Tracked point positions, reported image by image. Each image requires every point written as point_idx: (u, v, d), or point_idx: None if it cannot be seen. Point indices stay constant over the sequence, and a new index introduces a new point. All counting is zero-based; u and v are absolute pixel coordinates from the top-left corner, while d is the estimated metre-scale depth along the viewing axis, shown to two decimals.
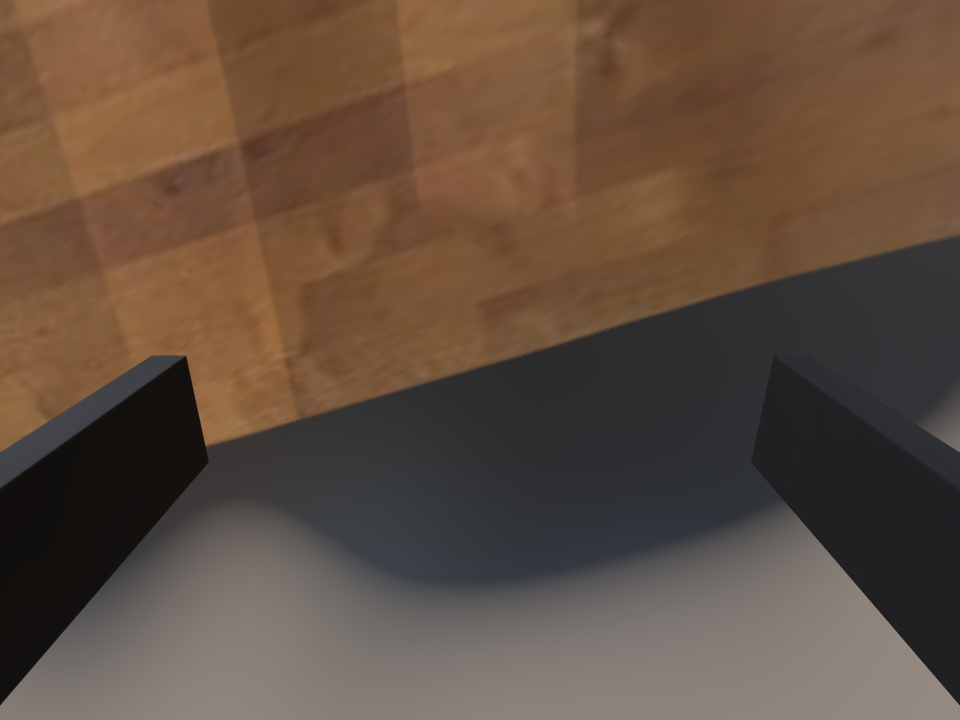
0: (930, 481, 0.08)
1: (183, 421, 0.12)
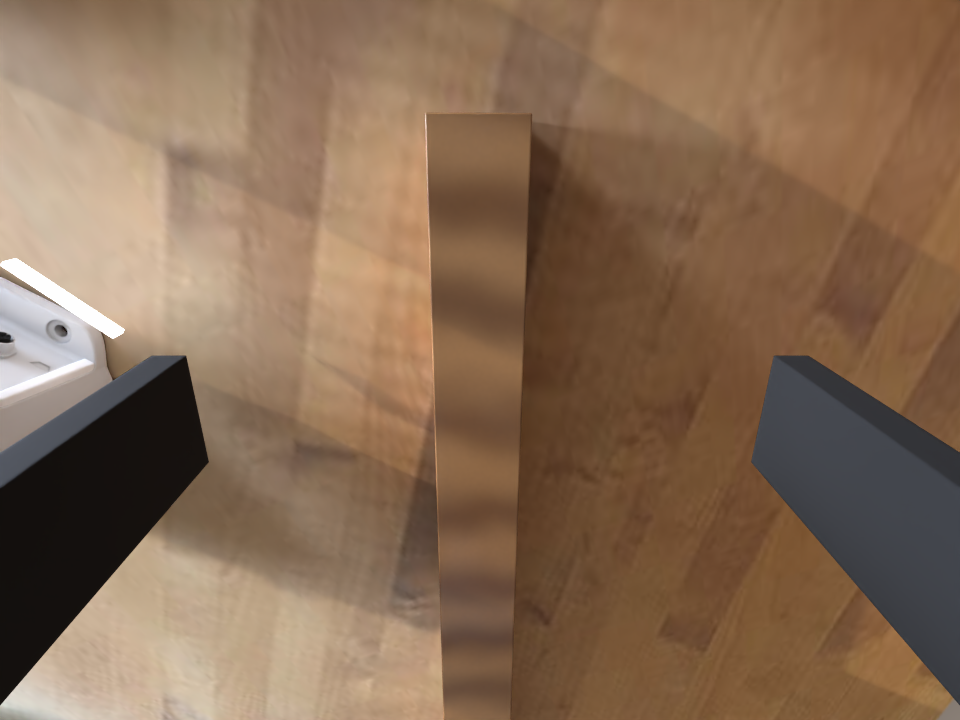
0: (930, 481, 0.08)
1: (183, 421, 0.12)
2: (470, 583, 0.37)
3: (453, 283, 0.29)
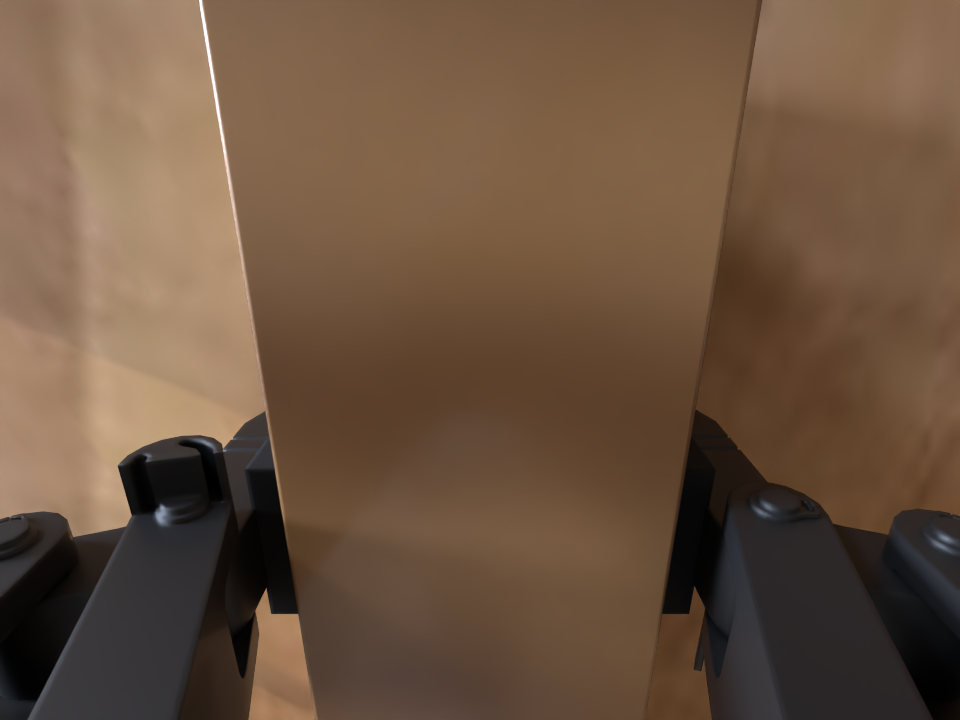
0: None
1: None
2: None
3: (390, 655, 0.08)
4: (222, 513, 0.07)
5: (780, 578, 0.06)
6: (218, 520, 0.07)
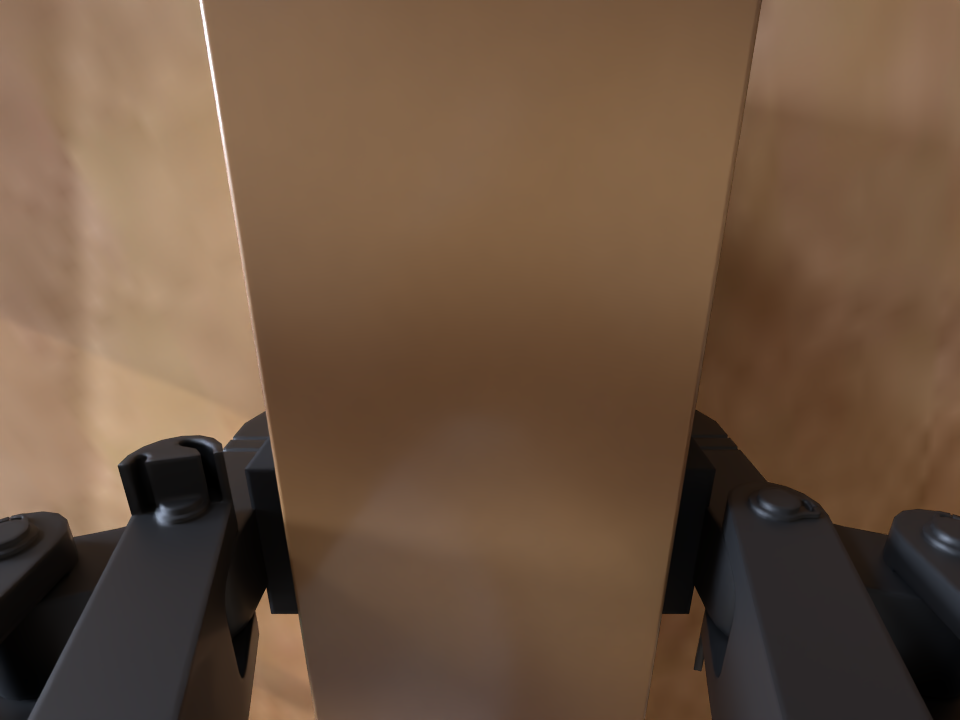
0: None
1: None
2: None
3: (390, 654, 0.08)
4: (222, 513, 0.07)
5: (780, 578, 0.06)
6: (218, 520, 0.07)
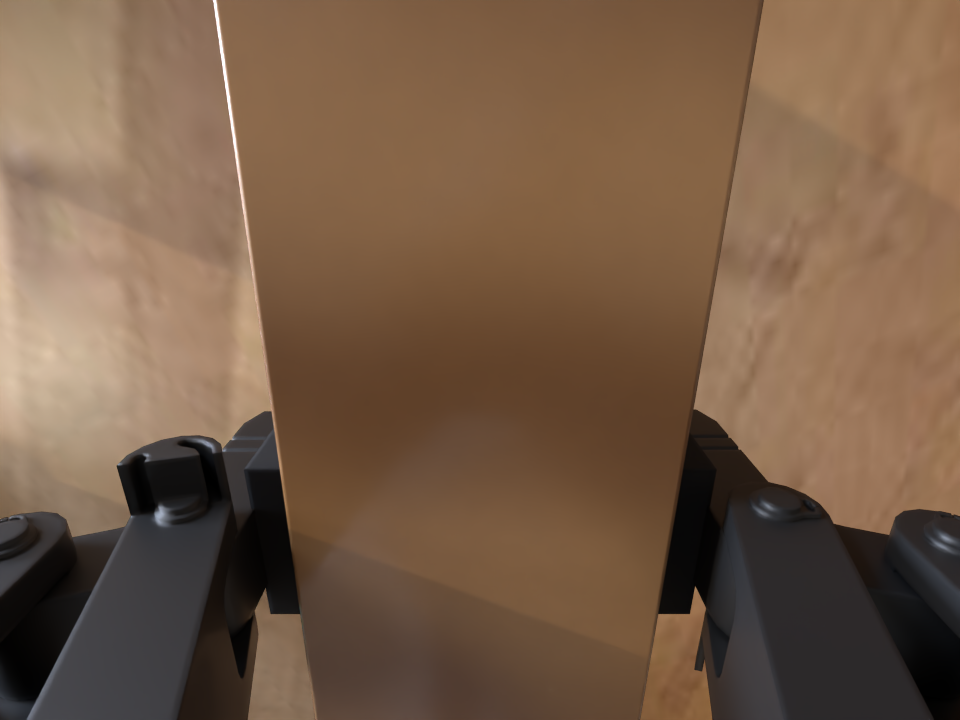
0: None
1: None
2: None
3: (389, 650, 0.08)
4: (221, 513, 0.07)
5: (781, 578, 0.06)
6: (217, 520, 0.07)
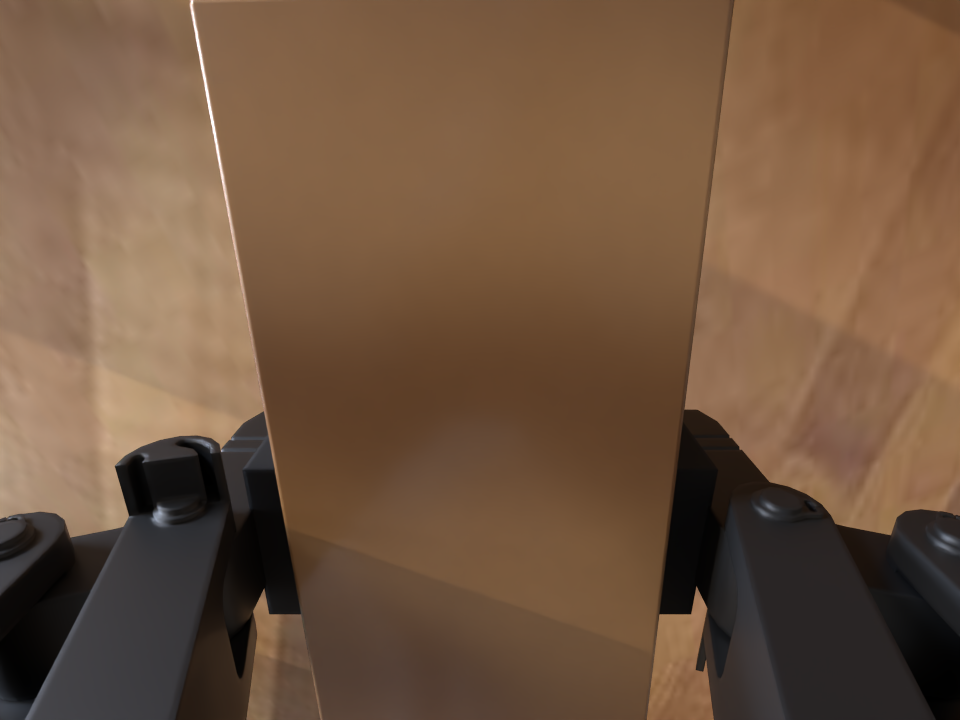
0: None
1: None
2: None
3: (393, 655, 0.08)
4: (219, 513, 0.07)
5: (783, 579, 0.06)
6: (215, 520, 0.07)
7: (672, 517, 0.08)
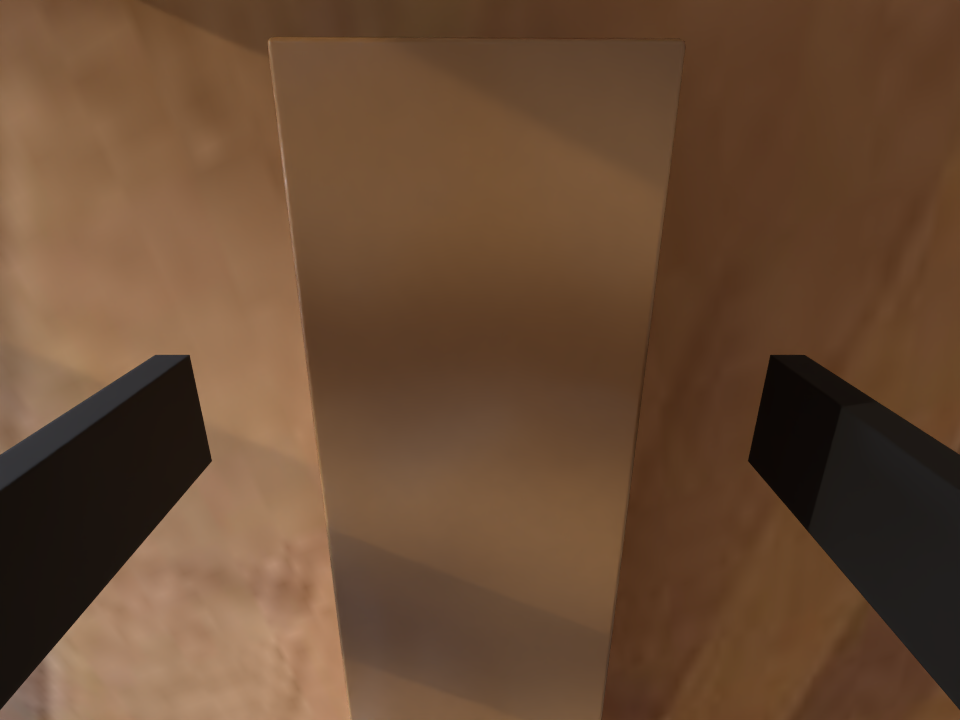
0: (924, 479, 0.08)
1: (187, 420, 0.12)
2: None
3: (402, 575, 0.10)
4: None
5: None
6: None
7: None
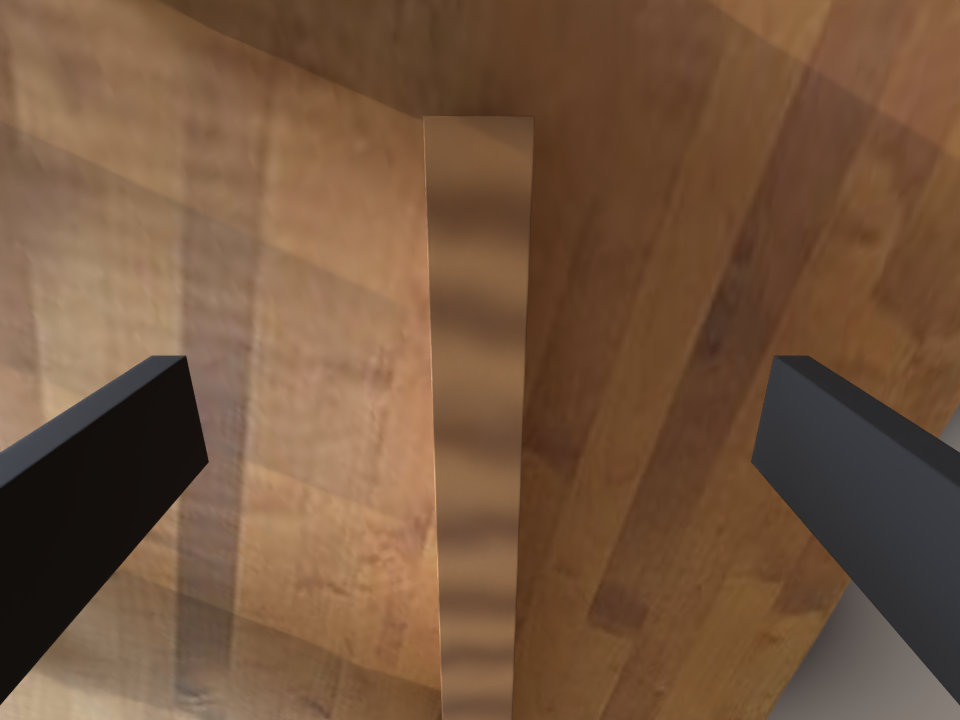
0: (930, 481, 0.08)
1: (183, 421, 0.12)
2: (470, 599, 0.36)
3: (453, 292, 0.28)
4: None
5: None
6: None
7: None
